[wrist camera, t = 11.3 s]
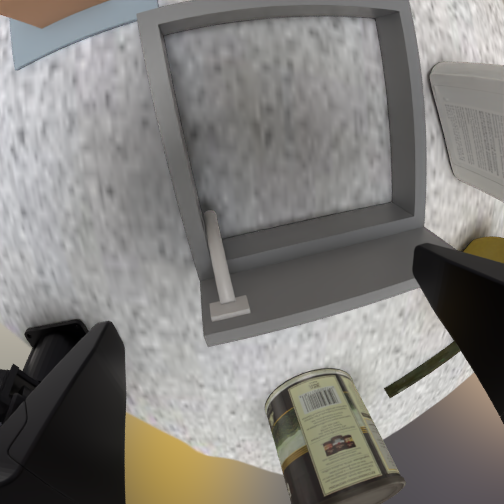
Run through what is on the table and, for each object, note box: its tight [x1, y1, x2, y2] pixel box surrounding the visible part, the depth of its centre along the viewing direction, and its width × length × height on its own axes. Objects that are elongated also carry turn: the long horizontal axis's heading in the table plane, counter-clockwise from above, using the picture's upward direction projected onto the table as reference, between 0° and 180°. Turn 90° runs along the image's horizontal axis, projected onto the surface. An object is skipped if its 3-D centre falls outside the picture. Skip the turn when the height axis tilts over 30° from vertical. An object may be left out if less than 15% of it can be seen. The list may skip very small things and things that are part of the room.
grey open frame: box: [136, 0, 456, 347], centre depth 16 cm, size 16×17×8 cm
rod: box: [384, 341, 461, 398], centre depth 32 cm, size 31×1×2 cm, turn 119°
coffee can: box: [265, 369, 406, 504], centre depth 26 cm, size 10×10×14 cm
